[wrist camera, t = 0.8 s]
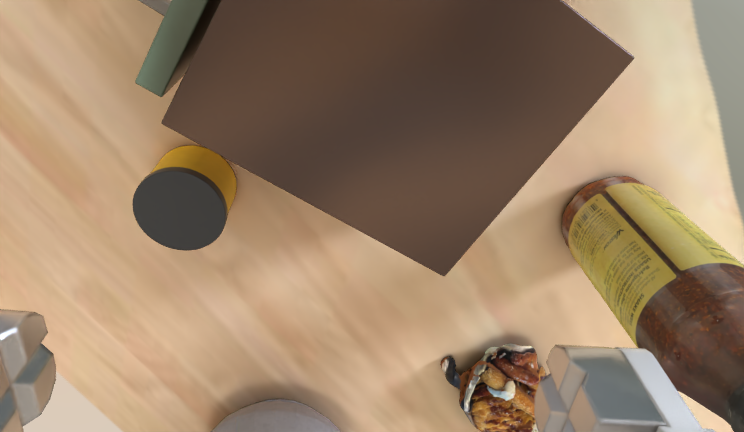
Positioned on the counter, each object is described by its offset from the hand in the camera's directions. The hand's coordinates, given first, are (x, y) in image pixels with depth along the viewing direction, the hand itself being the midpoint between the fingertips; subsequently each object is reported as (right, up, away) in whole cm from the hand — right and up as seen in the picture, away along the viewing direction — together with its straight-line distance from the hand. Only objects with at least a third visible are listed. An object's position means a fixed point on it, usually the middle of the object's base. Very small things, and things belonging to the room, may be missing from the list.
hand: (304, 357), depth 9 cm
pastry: (+12, -11, +34) cm, 38 cm away
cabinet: (+2, +12, +21) cm, 24 cm away
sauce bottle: (+16, +3, +26) cm, 31 cm away
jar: (-10, +4, +24) cm, 27 cm away
